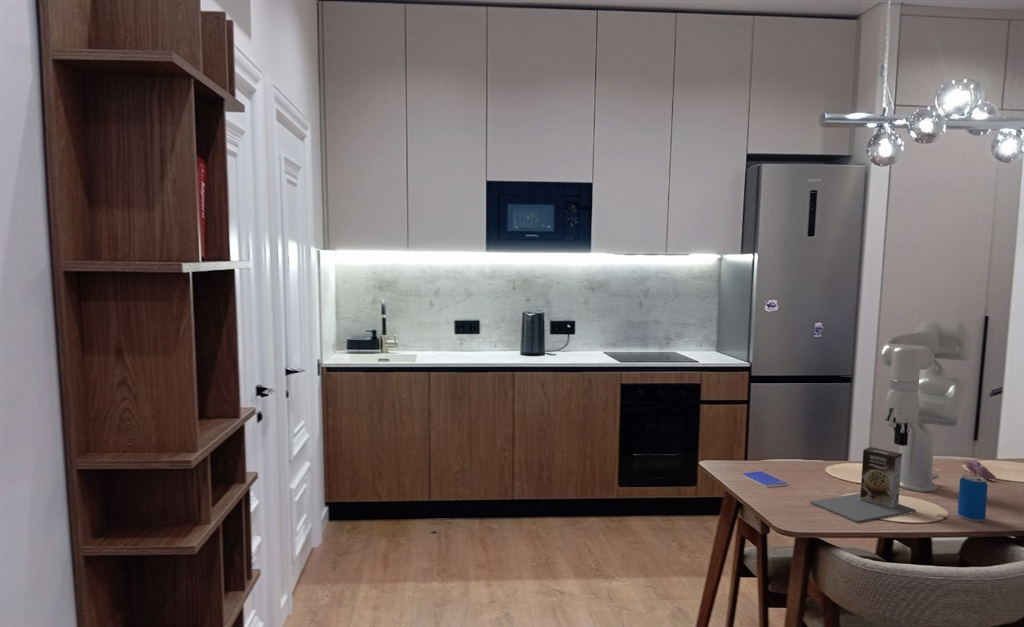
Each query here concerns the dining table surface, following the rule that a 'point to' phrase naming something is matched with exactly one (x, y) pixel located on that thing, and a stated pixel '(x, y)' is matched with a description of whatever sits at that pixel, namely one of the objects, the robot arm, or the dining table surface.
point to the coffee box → (881, 477)
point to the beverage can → (972, 498)
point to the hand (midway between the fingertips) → (900, 444)
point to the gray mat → (859, 508)
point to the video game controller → (978, 469)
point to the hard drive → (764, 479)
